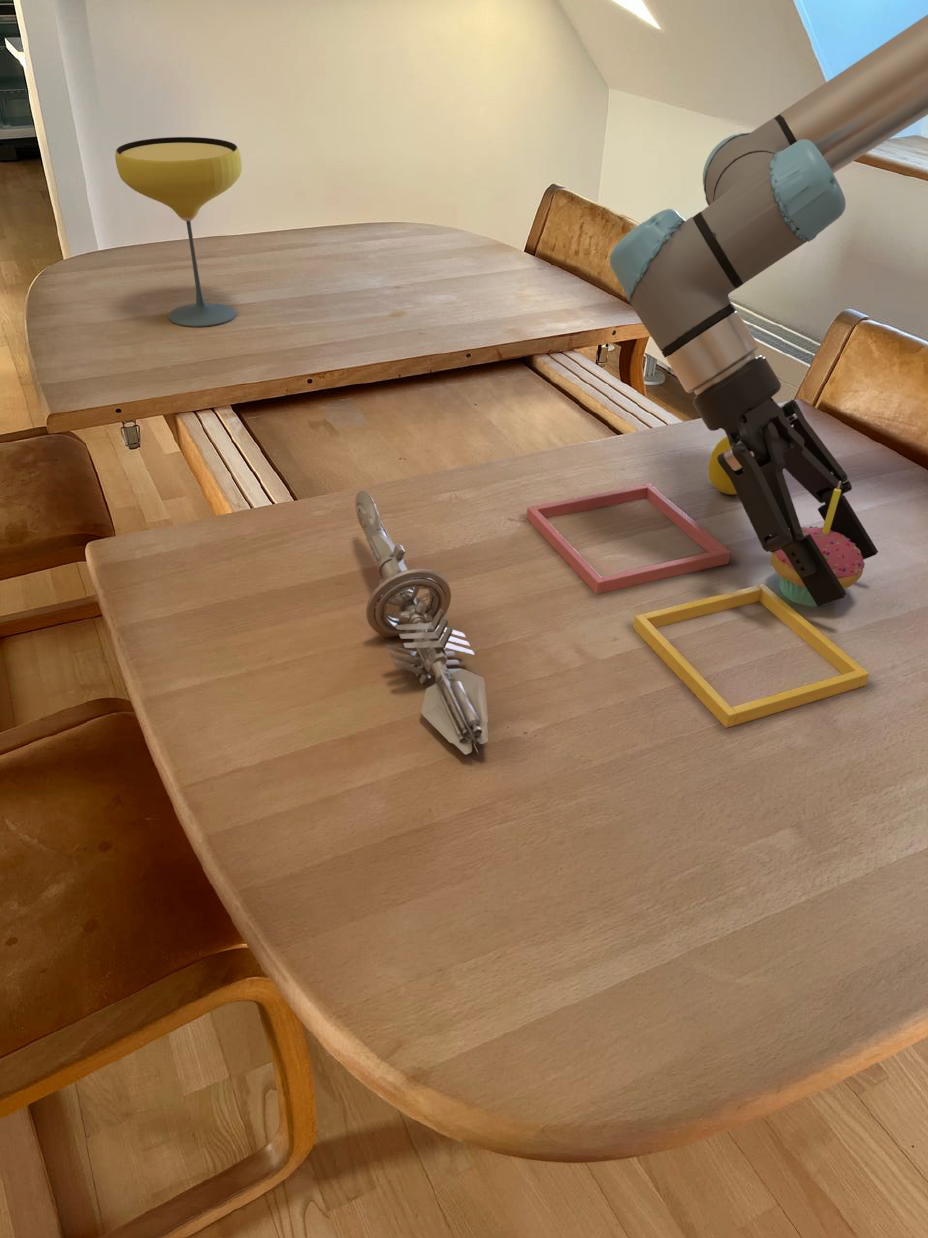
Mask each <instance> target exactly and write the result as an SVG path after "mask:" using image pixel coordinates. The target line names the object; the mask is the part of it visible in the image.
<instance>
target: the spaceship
mask: <svg viewBox="0 0 928 1238" xmlns="http://www.w3.org/2000/svg"><path fill="white" fill-rule="evenodd" d="M375 503H376V502H375V500H374V499H373V498H372V496H371V495H370V494H369V493H368V492H367V491H364V490H360V491H358V492H357V494H356V495H355V504H354V505H355V512H356V516H357V520H358V523H359V525H360V527H361V529H362V532H363V533H364V535H365V539H366V541H367V543H368V546H369V548H370V551H371V552H372V554H373V557H374V558H375V559H374V560H375V562H376V571H377V574H378V577H379V579H378V581H379V582H378V584H379V585H378V586H377V587H375V589H374V590H373V591H372V593H371V595H370V597H369V598H368V600H367V604H366V609H365V615H366V616H365V617H366V620H367V623H368V626H370V628H371V629H372V630H373V631H374V632H375V633H377V634H378V635H381V636H383V637H386V638H393V637H398V636H399V638H400V639H401V640H404V639H406V640H408V639H412V640H413V642H403V644H402V645H403V647H404V648H403V647H399V646H395V645H391V644H386V643H385V646H386V649H387V650H391V651H394V652H397V653H400V654H404V655H408V656H411V657H408V656H403V655H399V654H395V653H390V652H389V655H390V658H391V659H394V660H398V661H401V662H405V663H407V664H408V663H409V664H410V665H407V664H403V663H398V662H393V666H394V667H395V668H398V669H401V670H405V671H407V672H412V673H414V674H415V676H416V677H420V678H419V683H420V684H421V685H425V684H426V682H427V681H428V679H431V677H434V680H435V681H434V684H432V685H430V686H428V687H427V688H425V691H424V696H423V700H422V704H421V708H420V714H421V715H422V717H424V718H425V719H426V720H427V721H428V722H429V723H430V724H431V726H432V727H434V728H435V730H437V731H438V732H439V733H440V735H442V736H443V738H445V740H446V741H448V742H449V743H450V744H452V745H454V746H455V747H456V748H457V749H458V750H460V752H461V753H462V754H464V755H466V756H467V755H468V754H470V753H472V752H473V748H474V750H475V751H476V753H477V754H478V755H480V753H479V751H478V748H477V746H476V744H478V743H479V744H480V745H484V744H487V743H488V741H489V732H488V723H489V713H488V703H487V695H486V686H485V678H484V677H482V676H480V675H478V674H476V673H473V672H471V671H469V670H466V669H465V668H447V666H456V665H461V663H460V661H459V660H458V659H448V657H454V656H456V653H455V651H457V652H461V653H465V654H469V655H473V656H474V655H476V654H475V652H474V650H472V649H469V648H466V647H463V646H460V645H465V646H467V647H471V645H470V643H469V641H467V640H464V639H461V638H458V637H462V638H466V635H465V633H464V632H461V631H458V630H455V629H453V628H452V626H448V623H449V620H448V617H445V615H446V613H447V612H448V610H449V608H450V605H451V600H452V590H451V587H450V584H449V582H448V581H447V580H446V578H444V576H442V575H441V574H439V573H437V572H435V571H434V570H431V569H430V570H429V569H425V568H412V569H408V568H407V566H406V560H405V554H406V550H405V549H404V547H403V545H402V544H394V542H392V539H391V537H390V535H389V532H388V531H387V529H386V527H385V525H384V524H383V522H382V518H381V515H380V512H379V510H378V508H377V505H376V504H375ZM420 590H427V591H428V592H427V593H425V594H423V595H421V596H419V597H417V596H418V594H419V591H420ZM424 598H426V599H424ZM426 601H428V603H427V602H426ZM388 605H391V606H397V607H398V609H395V610H394V611H392V612H388V611H387V610H388ZM387 612H388V613H387ZM396 613H398V614H397V615H395V614H396ZM392 615H394V616H392ZM396 617H397V618H396ZM451 635H452V636H451ZM453 635H455V636H458V637H454V636H453ZM450 642H452V643H450ZM453 643H456V644H460V645H456V644H453ZM412 649H415V650H412ZM447 649H449V650H447ZM412 657H413V658H412Z"/></svg>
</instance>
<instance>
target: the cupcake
mask: <svg viewBox="0 0 928 1238" xmlns="http://www.w3.org/2000/svg"><path fill="white" fill-rule="evenodd" d="M840 484H841V481H839V483H838V486H837V489H834V491H833V495H832V498H831V502H830V505H829V508H828V512H827V515H826V519H825V521H824V522H823V526H822V527H819V526H811V525H810V526H809V527H805V526H804V527H802V526H801V529H802V532H803V536H806V535H808V534H810V535H811V536H812V538H813V540H814V541H815V543H816V545H817V546H818V548H819V549H820V551H821V553H822V554H823V556H824V558H825V559H826V561H827V563H828V564H829V566H830V567H831V569H832V571H833V572H834V574H835V576H836V577H837V579H838V581H839V582H840V584H841V585H842V587H843V589H844V590H846V589H848V588H850V587H852V586H853V585H854V584H855V583H856V582H857V581H858V580H859V579H860V578H861V577H862V575H863V573H864V569H865V566H866V562H865V561H864V560H863V557H862V555H861V551H860V550H859V549H858V548H857V547H856V546H855V545H856V544H855V543H852V542H851V541H850V539H849V538H846V537H845V536H844V535H842V534H840V533H837V532H834V531H832V530H830V527H831V524H832V521H833V517H834V514H835V510H836V507H837V504H838V500H839V497H840V493H841V490H840V489H839V488H840ZM770 564H771V566H772V567H773V569H774V571H775V572H776V573H777V576H778V580H779V589H780V592H781V593H782V595H783V596H784V597H785V598H786V599H787V600H790V601H791V602H794V603H795V604H799V605H802V606H805V607H818V606H817V604H816V603H815V601H814V600H813V598H812V596H811V595H810V593H809V591H808V590H807V588H806V587H805V585H804V583H803V582H802V580H801V578H800V577H799V575H798V574H797V572H796V571H795V569H794V567H793V565H792V564H791V563H790V561H789V559H788V558H787V556H786V554H785V553H784V552H783V551H782V550H781V549H780V550H778V551H775V552H773V553H771V557H770ZM828 604H829V603H827V604H824V605H821V606H820V607H822V606H826V605H828Z"/></svg>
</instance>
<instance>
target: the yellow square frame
mask: <svg viewBox="0 0 928 1238" xmlns="http://www.w3.org/2000/svg"><path fill="white" fill-rule="evenodd" d="M756 602H759V603H761V605H763V606H764V607H765V608H766V609H767V610H769V611H770V612H771V613H772V614H773V615H774V616H775V617H776V618H777V619H779V620H780V621H782V623H783V624H785V625H786V626H787V627H788V628H789V629H790V630H791V631H792V632H794V633H795V634H796V635H797V636H798V637H800V638H801V639H802V641H804V642H805V643H806V644H807V645H808V646H809V647H811V648H812V649H813V650H814V651H816V652H817V653H818V654H819V656H821V657H822V658H823V659H825V660H826V661H827V662H828V663H829V664H830V665H832V666H833V667H834V668H835V669H836V670H837V671H838V672H839V673H841V674H839V675H836V676H833V677H829V678H826V679H823V680H819V681H816V682H813V683H809V684H806V685H803V686H799V687H796V688H793V689H792V688H791V689H788V690H786V691H782V692H780V693H775V694H772V695H768V696H765V697H762V698H759V699H755V700H752V701H749V702H746V703H742V704H738V705H735V706H731V705H730V704H729V703H727V701H726V700H725V699H724V698H723V697H722V696H721V695H720V694H719V693H718V692H717V691H716V690H715V689H714V688H713V687H712V685H711V684H710V683H709V682H708V681H706V679H705V678H704V677H703V676H702V675H701V674H700V673H699V672H698V671H697V670H696V669H695V668H694V667H693V666H692V665H691V664H690V663H689V662H688V661H687V659H685V657H684V656H683V655H682V654H681V653H680V651H678V650H677V649H676V648H675V647H674V646H673V645H672V644H671V643H670V642H669V641H668V640H667V639H666V638H665V636H663V634H661V632H660V631H658V629H657V628H660V627H663V626H667V625H671V624H675V623H680V622H683V621H686V620H691V619H694V618H698V617H702V616H706V615H710V614H714V613H718V612H722V611H725V610H730V609H733V608H738V607H742V606H746V605H750V604H754V603H756ZM632 628H633V630H634V631H635V632H636V633H637V634H638V635H639V636H640V637H641V638H642V640H644V641H645V643H646V644H648V646H649V647H650V648H651V649H652V650H653V651H654V652H655V653H656V654H657V655H658V657H659V658H661V660H662V661H663V662H664V663H665V665H667V667H669V668H670V669H671V670H672V672H673V673H674V674H675V675H676V676H677V677H678V678H679V679H680V680H681V682H683V683H684V685H685V686H686V687H687V688H688V689H689V690H690V691H691V692H692V693H693V694H694V695H695V696H696V697H697V698H698V700H699V701H700V702H701V703H702V704H703V705H704V706H705V707H706V708H707V709H708V711H709V712H710V713H711V714H712V715H713V716H714V717H715V718H716V719H717V720H718V721H719V722H720V723H721V724H722V726H723V727H724V728H731V727H733V726H737V725H741V724H744V723H747V722H750V721H753V720H757V719H761V718H763V717H766V716H770V715H774V714H776V713H780V712H784V711H786V710H790V709H793V708H796V707H799V706H803V705H806V704H809V703H813V702H816V701H819V700H822V699H825V698H829V697H833V696H835V695H839V694H842V693H845V692H846V693H847V692H848V691H852V690H856V689H858V688H862V687H865V686H866V683H867V681H868V678H869V675H870V673H869V672H868V670H866V669H864V668H863V667H862V666H861V665H859V663H858V662H857V661H855V660H854V659H853V658H851V657H850V656H849V655H848V654H847V653H846V652H845V651H843V650H842V649H841V648H840V647H839V646H838V645H836V644H835V643H834V642H833V641H832V640H830V639H829V638H828V637H827V636H826V635H825V634H823V633H822V632H821V631H820V630H818V629H817V628H816V627H815V626H814V625H813V624H812V623H810V622H809V621H808V620H806V618H805V617H803V616H802V615H801V614H799V613H798V612H797V611H796V610H795V609H794V608H792V607H791V606H790V604H788V603H787V602H786V601H784V600H783V599H782V598H781V597H780V596H778V594H776V593H775V592H774V591H772V590H771V589H770V588H769V587H768V586H766V585H765V584H763V583H762V584H758V585H754V586H750V587H746V588H742V589H738V590H737V589H736V590H734V591H729V592H726V593H722V594H718V595H713V596H710V597H706V598H701V599H697V600H693V601H689V602H686V603H682V604H676V605H674V606H669V607H666V608H661V609H658V610H653V611H650V612H645V613H642V614H637V615H635V616H634V619H633V624H632Z"/></svg>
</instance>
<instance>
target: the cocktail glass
mask: <svg viewBox="0 0 928 1238" xmlns="http://www.w3.org/2000/svg"><path fill="white" fill-rule="evenodd" d="M114 152H115V153H114V154H115V155H114V158H115V164H116V169H117V173H118V175H119V177H120V179H121V181H122V182H123V183H125V185H127V186H128V187H129V188H131V189H132V190H133V191H135V192H136V193H139V194H141V195H143V196H145V197H146V198H149V199H151V200H154V201H156V202H158V203H161V204H163V205H165V206H167V207H169V208H170V209H171V210H172V211H173V212H174V213H175V214H176V215H177V216H178V217H179V219H181V220H182V221H184V222H185V223H186V229H187V235H188V241H189V248H190V255H191V261H192V269H193V277H194V285H195V303H189V304H185V305H182V306H179V307H176V308H174V309H172V310H171V311H170V312H169V313H168V320H169V321H170V322H171V323H172V324H174V325H177V326H181V327H187V328H206V327H213V326H218V325H222V324H225V323H228V322H230V321H232V320H234V318H235V317H236V315H237V311H236V309H235V308H234V307H232V306H230V305H227V304H223V303H217V302H206V301H205V298H204V294H203V291H202V287H201V281H200V273H199V268H198V263H197V257H196V250H195V244H194V237H193V231H192V230H193V229H192V222H191V221H193V220H194V219H195V218H196V217H197V216H198V214H199V211H200V209H201V208H202V207H203V206H204V205H205V204H207V203H208V202H210V201H211V200H213V199H215V198H216V197H218V196H220V195H221V194H223V193H225V192H226V191H228V190H229V189H230V188H231V187H232V186H233V185H235V183H236V182H237V181H238V179H239V178H240V177H241V173H242V158H241V152H240V149H239V148H238V145H236V143H234V142H231V141H228V140H224V139H218V138H210V137H200V136H199V137H197V136H170V137H169V136H168V137H157V138H155V137H154V138H149V139H148V138H147V139H141V140H135V141H131V142H127V143H124V144H122V145H119V146H118V147H117V148H116V150H115V151H114Z"/></svg>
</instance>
